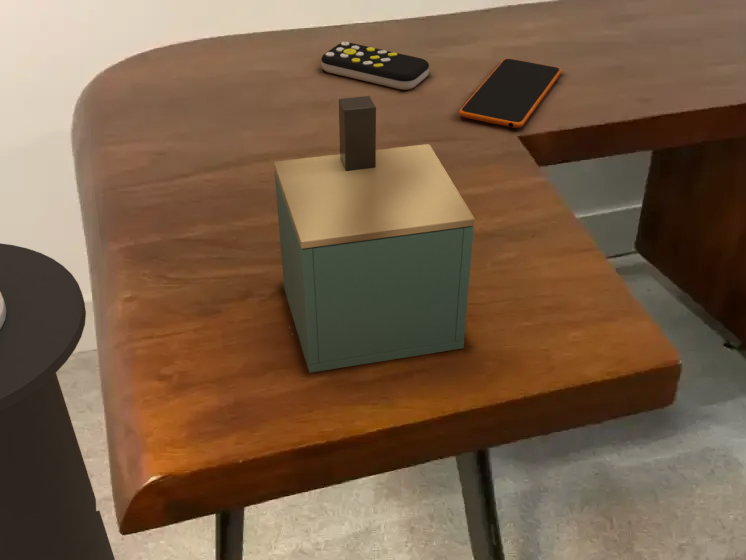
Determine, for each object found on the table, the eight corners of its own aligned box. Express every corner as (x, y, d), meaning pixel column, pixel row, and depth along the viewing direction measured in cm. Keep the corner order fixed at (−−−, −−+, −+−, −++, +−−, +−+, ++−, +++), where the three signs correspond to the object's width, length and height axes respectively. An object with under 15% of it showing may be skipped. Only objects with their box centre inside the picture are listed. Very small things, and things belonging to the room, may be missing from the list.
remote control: (410, 93, 107) (410, 77, 106) (316, 71, 112) (316, 55, 110) (433, 74, 111) (433, 58, 110) (342, 53, 116) (341, 37, 114)
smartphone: (562, 73, 112) (563, 66, 111) (520, 131, 100) (521, 124, 100) (503, 62, 114) (503, 55, 113) (456, 118, 103) (456, 110, 102)
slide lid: (301, 249, 63) (296, 177, 60) (274, 168, 71) (268, 100, 68) (474, 226, 66) (480, 155, 62) (429, 150, 74) (432, 84, 70)
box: (309, 373, 71) (301, 250, 63) (283, 287, 79) (274, 169, 72) (463, 348, 73) (474, 227, 66) (423, 267, 82) (428, 151, 74)
